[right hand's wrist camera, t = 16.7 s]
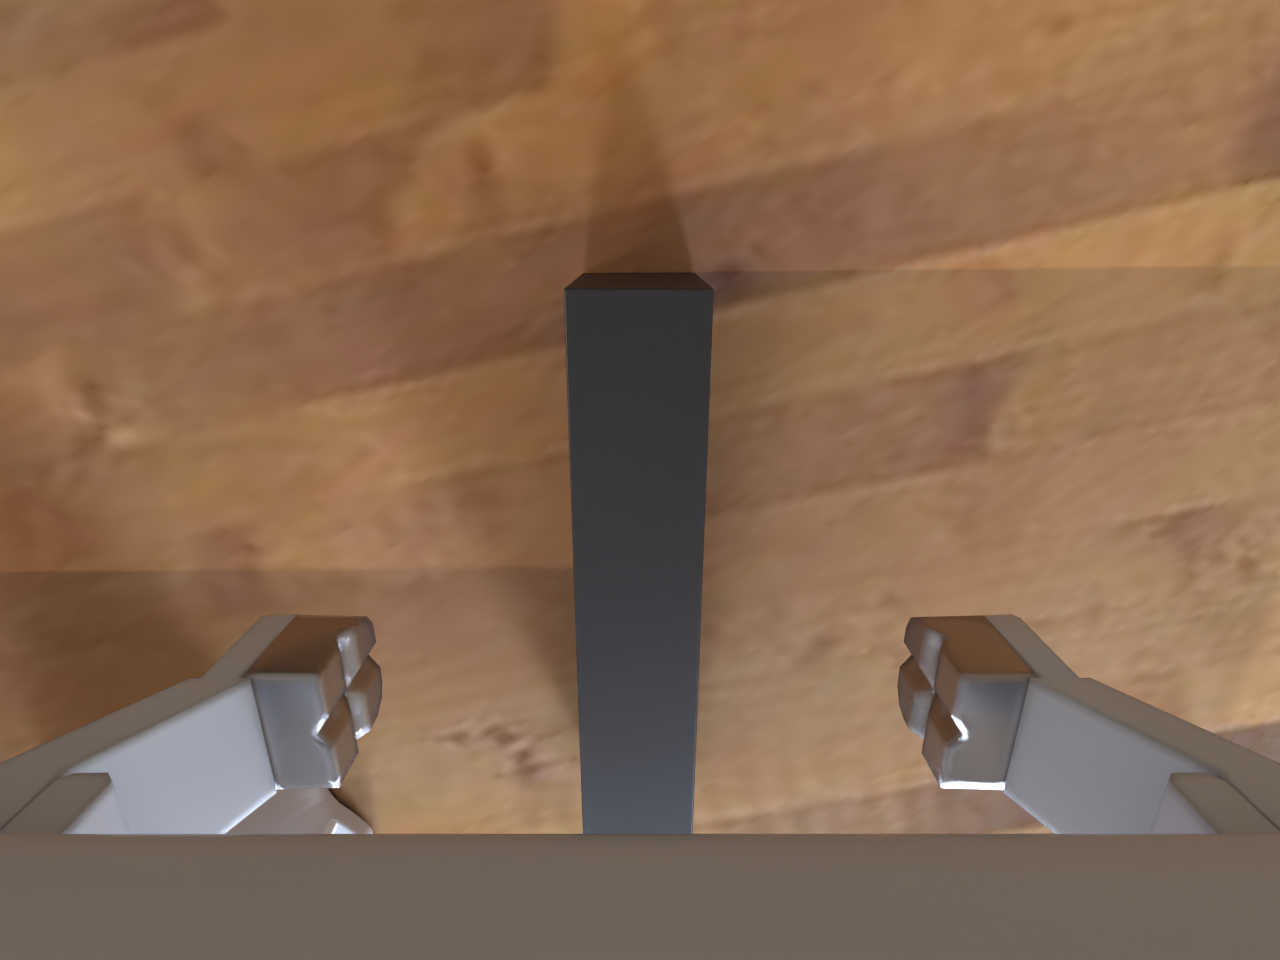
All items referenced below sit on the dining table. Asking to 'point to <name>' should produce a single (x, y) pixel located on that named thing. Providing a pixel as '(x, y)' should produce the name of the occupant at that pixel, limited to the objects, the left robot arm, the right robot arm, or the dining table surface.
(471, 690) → the dining table surface
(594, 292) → the bar
